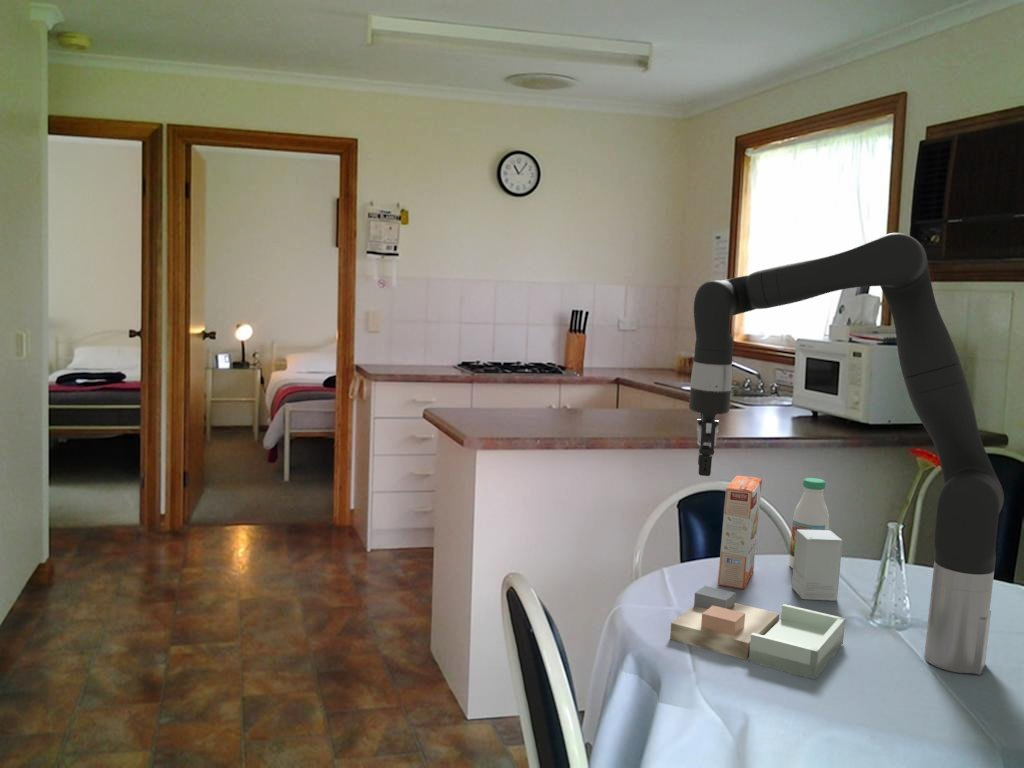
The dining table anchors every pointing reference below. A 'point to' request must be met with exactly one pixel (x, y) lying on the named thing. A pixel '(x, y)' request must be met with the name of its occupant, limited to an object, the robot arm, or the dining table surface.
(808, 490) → the milk bottle
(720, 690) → the dining table surface
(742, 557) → the cracker box
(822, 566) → the supplement box
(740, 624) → the terracotta tile
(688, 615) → the plate
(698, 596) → the slate tile
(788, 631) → the box
